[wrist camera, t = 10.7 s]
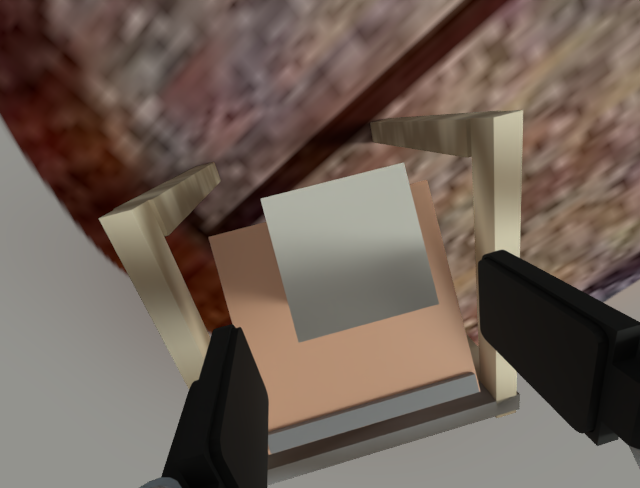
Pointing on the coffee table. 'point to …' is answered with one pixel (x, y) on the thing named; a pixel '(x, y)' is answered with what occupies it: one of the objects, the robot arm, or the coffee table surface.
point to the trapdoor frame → (490, 235)
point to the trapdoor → (344, 344)
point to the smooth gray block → (350, 251)
